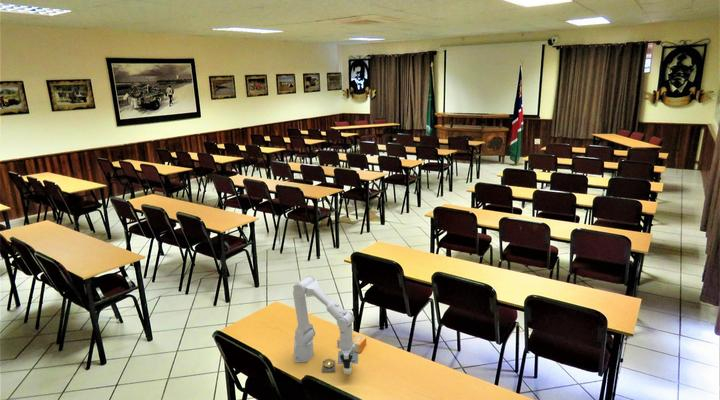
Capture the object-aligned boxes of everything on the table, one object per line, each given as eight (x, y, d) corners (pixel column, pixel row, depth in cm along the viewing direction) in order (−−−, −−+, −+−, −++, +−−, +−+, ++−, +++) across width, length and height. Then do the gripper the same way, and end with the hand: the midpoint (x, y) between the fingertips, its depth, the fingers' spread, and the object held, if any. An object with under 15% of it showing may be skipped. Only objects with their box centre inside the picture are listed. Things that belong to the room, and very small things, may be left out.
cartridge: (343, 375, 201) (342, 366, 199) (343, 370, 205) (343, 361, 203) (351, 375, 201) (351, 366, 199) (352, 369, 205) (351, 361, 203)
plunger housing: (322, 374, 203) (322, 368, 202) (323, 365, 209) (323, 360, 208) (334, 374, 203) (334, 368, 202) (335, 365, 209) (335, 360, 208)
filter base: (337, 365, 209) (337, 362, 208) (338, 352, 218) (338, 350, 218) (358, 365, 209) (358, 362, 208) (358, 352, 218) (357, 349, 218)
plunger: (323, 372, 203) (323, 365, 202) (324, 365, 208) (323, 358, 207) (333, 372, 203) (333, 365, 202) (334, 365, 208) (334, 358, 207)
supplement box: (359, 344, 214) (336, 339, 220) (360, 353, 215) (336, 348, 221) (366, 337, 222) (343, 332, 227) (366, 345, 223) (344, 340, 228)
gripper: (354, 347, 190) (355, 372, 194) (355, 328, 204) (355, 352, 208) (339, 347, 190) (340, 372, 194) (340, 328, 204) (341, 352, 208)
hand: (347, 362), depth 201 cm, fingers open, 7 cm apart
